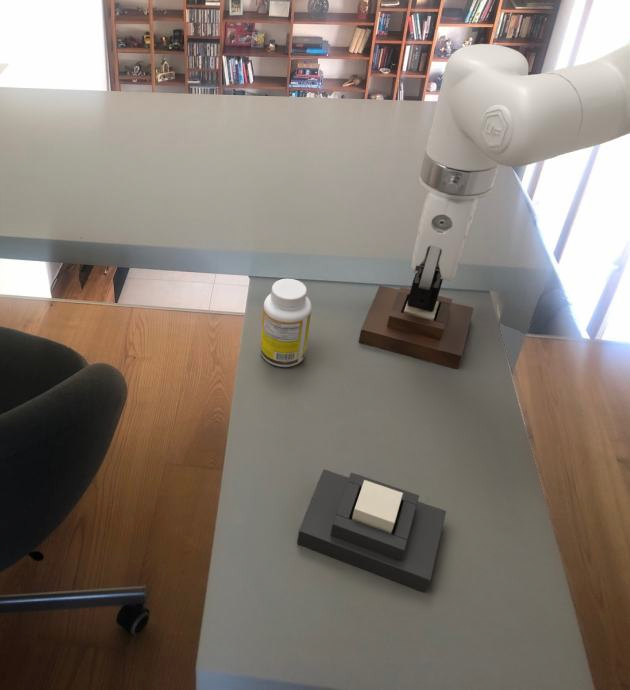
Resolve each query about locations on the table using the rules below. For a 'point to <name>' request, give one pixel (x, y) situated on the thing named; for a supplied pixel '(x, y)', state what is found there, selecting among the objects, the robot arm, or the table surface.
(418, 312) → the far key
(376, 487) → the near key
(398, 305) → the brown stepped switch base
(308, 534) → the stepped wall plate
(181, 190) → the table surface
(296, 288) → the supplement bottle
